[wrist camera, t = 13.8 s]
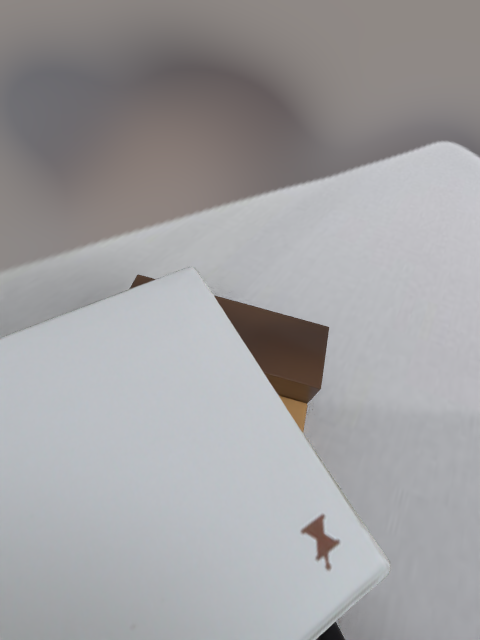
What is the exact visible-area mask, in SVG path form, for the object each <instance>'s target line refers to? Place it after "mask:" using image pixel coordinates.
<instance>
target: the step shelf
mask: <svg viewBox="0 0 480 640" xmlns="http://www.w3.org/2000/svg"><path fill="white" fill-rule="evenodd" d="M153 280H155V279H152V278H149V277H145V276H141V275H137V277H136V278H135V280H134V282H133V284H132V286H131V287H130V289H132V288H134V287H137V286H140V285H142V284H145V283H148V282H150V281H153ZM214 297H215V298H216V300H217V302H218V303H219V305H220V306H221V307H222V309H223V311H224V312H225V314H226V315H227V317H228V319H229V320H230V322H231V323H232V325H233V326H234V328H235V329H236V331H237V332H238V334H239V336H240V337H241V339H242V340H243V342H244V343H245V345H246V346H247V348H248V349H249V351H250V352H251V354H252V355H253V357H254V359H255V360H256V362H257V363H258V365H259V366H260V368H261V369H262V371H263V373H264V374H265V376H266V377H267V379H268V380H269V382H270V384H271V385H272V387H273V388H274V390H275V391H276V393H277V394H278V396H279V397H280V399H281V400H282V402H283V403H284V405H285V407H286V408H287V410H288V411H289V413H290V414H291V416H292V417H293V419H294V420H295V422H296V423H297V425H298V426H299V428H300V429H301V431H302V432H303V430H304V424H305V417H306V411H307V403H308V402H309V401H310V400H311V399H312V398H313V397H314V396H315V395H316V393H317V392H318V391H319V390H320V389H321V384H322V377H323V369H324V362H325V354H326V347H327V339H328V332H329V327H327V326H323V325H320V324H316V323H312V322H309V321H305V320H302V319H298V318H294V317H291V316H287V315H283V314H280V313H276V312H272V311H269V310H265V309H262V308H258V307H254V306H251V305H247V304H243V303H240V302H236V301H232V300H229V299H225V298H221V297H218V296H214Z"/></svg>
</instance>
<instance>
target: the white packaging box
mask: <svg viewBox="0 0 480 640" xmlns="http://www.w3.org/2000/svg"><path fill="white" fill-rule="evenodd" d="M389 572H390V561H389V560H388V559H387V557H386V556H385V554H384V553H383V551H382V550H381V548H380V547H379V545H378V544H377V543H376V541H375V540H374V538H373V537H372V535H371V534H370V532H369V531H368V529H367V528H366V526H365V525H364V523H363V522H362V520H361V519H360V517H359V516H358V514H357V513H356V512H355V510H354V509H353V507H352V506H351V504H350V503H349V501H348V500H347V498H346V497H345V495H344V494H343V492H342V491H341V489H340V488H339V486H338V485H337V483H336V482H335V480H334V479H333V477H332V476H331V474H330V473H329V471H328V470H327V468H326V467H325V465H324V464H323V462H322V461H321V459H320V458H319V456H318V455H317V453H316V452H315V450H314V449H313V447H312V446H311V444H310V443H309V441H308V440H307V438H306V437H305V435H304V434H303V432H302V431H301V429H300V428H299V426H298V425H297V423H296V422H295V420H294V419H293V417H292V416H291V414H290V413H289V411H288V410H287V408H286V407H285V405H284V403H283V402H282V400H281V399H280V397H279V396H278V394H277V393H276V391H275V390H274V388H273V387H272V385H271V384H270V382H269V380H268V379H267V377H266V376H265V374H264V373H263V371H262V369H261V368H260V366H259V365H258V363H257V362H256V360H255V359H254V357H253V355H252V354H251V352H250V351H249V349H248V348H247V346H246V345H245V343H244V342H243V340H242V339H241V337H240V336H239V334H238V332H237V331H236V329H235V328H234V326H233V325H232V323H231V322H230V320H229V319H228V317H227V315H226V314H225V312H224V311H223V309H222V307H221V306H220V305H219V303H218V302H217V300H216V298H215V297H214V295H213V294H212V292H211V291H210V289H209V288H208V286H207V284H206V283H205V281H204V280H203V279H202V277H201V276H200V274H199V273H198V271H197V270H196V269H195V268H194V267H187V268H184V269H181V270H179V271H176V272H174V273H171V274H168V275H166V276H163V277H161V278H158V279H155V280H153V281H150V282H148V283H145V284H142V285H140V286H137V287H134V288H132V289H129V290H126V291H124V292H121V293H119V294H116V295H113V296H111V297H108V298H106V299H103V300H100V301H98V302H95V303H92V304H89V305H87V306H84V307H81V308H79V309H76V310H73V311H71V312H68V313H65V314H62V315H60V316H57V317H54V318H52V319H49V320H46V321H44V322H41V323H38V324H36V325H33V326H30V327H28V328H25V329H22V330H20V331H17V332H14V333H12V334H9V335H6V336H4V337H1V338H0V640H316V639H317V638H318V637H319V636H320V635H321V634H322V633H324V632H325V631H326V630H327V629H328V628H329V627H330V626H331V625H332V624H333V623H334V622H336V621H337V620H338V619H339V618H340V617H341V616H342V615H343V614H344V613H345V612H346V611H347V610H349V609H350V608H351V607H352V606H353V605H354V604H355V603H356V602H357V601H358V600H360V599H361V598H362V597H363V596H364V595H365V594H366V593H368V592H369V591H370V590H371V589H373V588H374V587H375V586H376V585H378V584H379V583H380V582H381V581H382V580H383V579H384V578H385V577H386V576H387V575H388V574H389Z"/></svg>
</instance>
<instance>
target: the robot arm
mask: <svg viewBox="0 0 480 640" xmlns="http://www.w3.org/2000/svg"><path fill="white" fill-rule="evenodd" d="M316 640H345V639H344V637H343V635H342V633H341V631H340V629H339V627H338V625H337V623H336V622H334V623H333V624H332V625H331V626H330V627H329V628H328V629H327V630H326V631H325V632H324V633H322V634H321V635H320V636H319V637H318V638H317V639H316Z"/></svg>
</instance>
